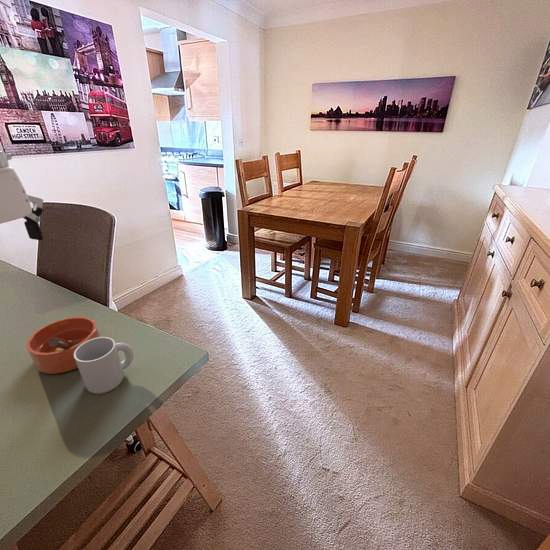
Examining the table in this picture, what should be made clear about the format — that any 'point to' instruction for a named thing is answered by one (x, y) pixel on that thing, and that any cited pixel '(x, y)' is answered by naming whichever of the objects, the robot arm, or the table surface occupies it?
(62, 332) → the bowl
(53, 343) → the stick
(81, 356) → the cup
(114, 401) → the table surface
